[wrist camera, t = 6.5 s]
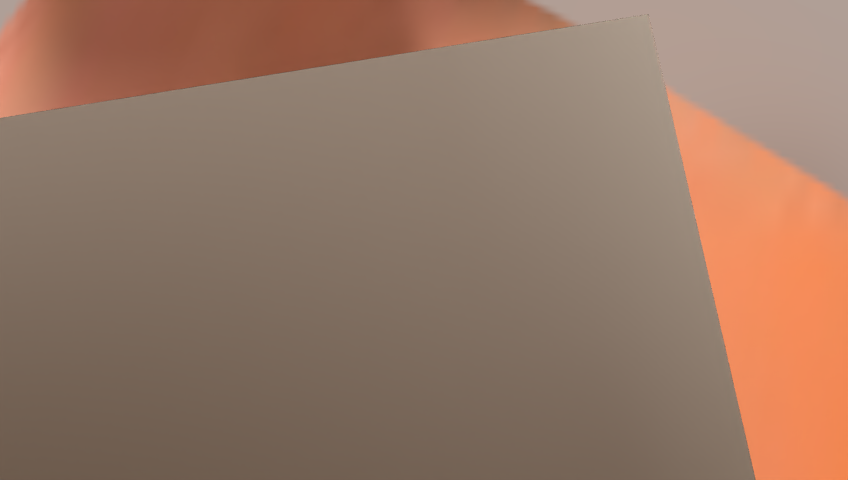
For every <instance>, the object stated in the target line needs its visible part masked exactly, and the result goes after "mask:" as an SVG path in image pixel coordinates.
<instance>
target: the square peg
mask: <svg viewBox="0 0 848 480" xmlns="http://www.w3.org/2000/svg"><path fill="white" fill-rule="evenodd" d="M0 480H755V475H754V471H753V467H752V462H751V458H750V454H749V449H748V445H747V440H746V436H745V432H744V427H743V423H742V419H741V414H740V410H739V406H738V401H737V397H736V393H735V388H734V384H733V380H732V375H731V371H730V367H729V362H728V358H727V354H726V349H725V345H724V340H723V336H722V332H721V327H720V323H719V319H718V314H717V310H716V306H715V301H714V297H713V293H712V288H711V284H710V280H709V275H708V271H707V267H706V262H705V258H704V254H703V249H702V245H701V240H700V236H699V232H698V227H697V223H696V219H695V214H694V210H693V206H692V201H691V197H690V193H689V188H688V184H687V180H686V175H685V171H684V167H683V162H682V158H681V154H680V149H679V145H678V140H677V136H676V132H675V127H674V123H673V119H672V114H671V110H670V106H669V101H668V97H667V93H666V88H665V84H664V80H663V75H662V71H661V67H660V62H659V58H658V54H657V49H656V45H655V40H654V36H653V32H652V27H651V23H650V19H649V15H648V14H647V15H640V16H634V17H628V18H622V19H615V20H609V21H603V22H597V23H590V24H584V25H578V26H572V27H565V28H559V29H553V30H547V31H540V32H534V33H528V34H522V35H515V36H509V37H503V38H497V39H490V40H484V41H478V42H472V43H466V44H459V45H453V46H447V47H441V48H434V49H428V50H422V51H416V52H409V53H403V54H397V55H391V56H384V57H378V58H372V59H366V60H359V61H353V62H347V63H341V64H334V65H328V66H322V67H316V68H309V69H303V70H297V71H291V72H285V73H278V74H272V75H266V76H260V77H253V78H247V79H241V80H235V81H228V82H222V83H216V84H210V85H203V86H197V87H191V88H185V89H178V90H172V91H166V92H160V93H153V94H147V95H141V96H135V97H128V98H122V99H116V100H110V101H104V102H97V103H91V104H85V105H79V106H72V107H66V108H60V109H54V110H47V111H41V112H35V113H29V114H22V115H16V116H10V117H4V118H0Z"/></svg>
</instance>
